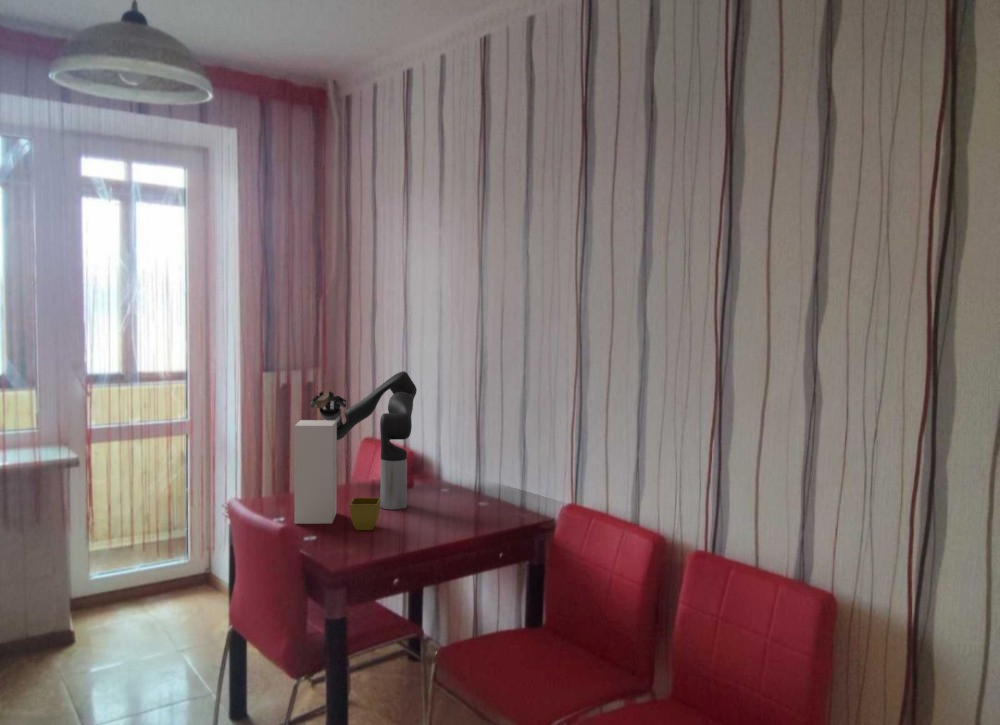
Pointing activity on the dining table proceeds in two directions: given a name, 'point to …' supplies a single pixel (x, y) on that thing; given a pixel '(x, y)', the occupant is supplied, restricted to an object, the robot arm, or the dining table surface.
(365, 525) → the flower pot
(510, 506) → the dining table surface
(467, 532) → the dining table surface
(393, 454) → the robot arm
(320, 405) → the walnut bar
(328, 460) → the off-white column
